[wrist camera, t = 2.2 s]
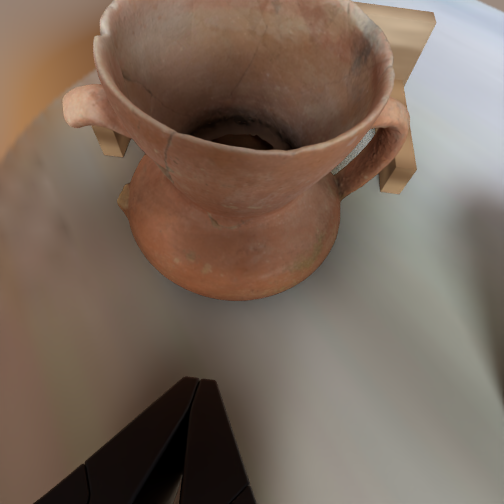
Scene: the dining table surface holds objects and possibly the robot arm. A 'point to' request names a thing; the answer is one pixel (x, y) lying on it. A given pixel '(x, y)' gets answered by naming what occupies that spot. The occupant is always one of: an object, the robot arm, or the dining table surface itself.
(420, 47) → the stop board
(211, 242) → the ceramic jug
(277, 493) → the dining table surface
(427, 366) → the dining table surface
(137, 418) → the robot arm
